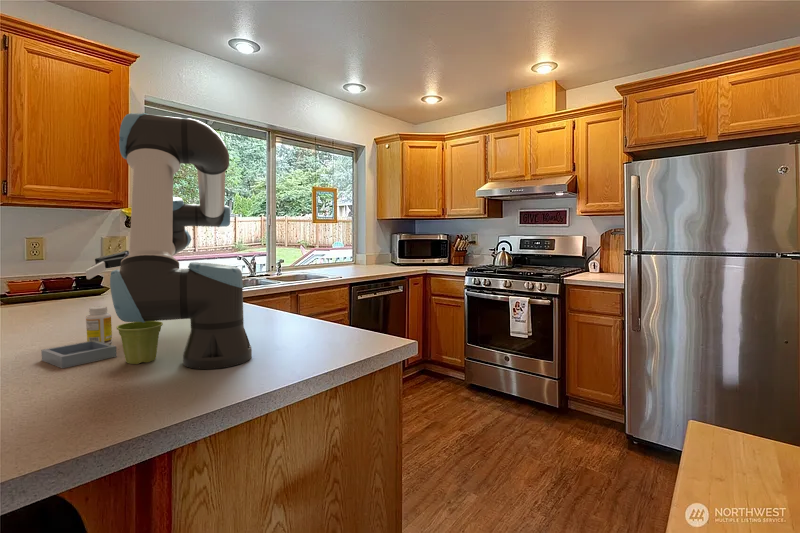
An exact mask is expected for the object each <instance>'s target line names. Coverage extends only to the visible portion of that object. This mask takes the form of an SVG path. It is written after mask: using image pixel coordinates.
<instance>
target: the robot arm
mask: <svg viewBox="0 0 800 533" xmlns="http://www.w3.org/2000/svg"><path fill="white" fill-rule="evenodd" d="M118 136H119V141H118V145H119V148H118V149H119V153H120V155H121V157H122V158H123V159H124V160H126V163H127V164H128V166H129V167H130V168H131V169H132V170H133V172H132V173H133V174H132V190H131V191H132V193H131V215H130V233H129V236H130V237H129V250H127V249H126V250H123V251H121V252H117V253H114V254H113V253H112V254H109V255H105V256H100V257H95V259H94V262H95V264H93V265H92V266H91V267H89V268H87V269H85V276H86V277H85V278H86V280H91V279H93V278H94V277H96V276H98V275H100V274H101V273H103V272H105V271H106V269H113V268H116V269H113V270H112V271H110V276H109V288H110V295H111V300H112V306H113V308H114V311H115V314H116V316H117V318H118V319H119V320H120V321H122V322H125V323H131V322H143V323H144V322H146V321H159V322H162V321H172V320H175V321H176V320H188V319H189V320H190V331H189V335H188V338H187V341H186V344H185V348H184V351H183V353H182V362H183V363H182V365H183V366H184V367H187V368H190V369H196V370H214V369H224V368H228V367H234V366H237V365H241V364H244V363H246V362H248V361H250V360H252V357H253V356H252V354H253V350H252V346H251V343H250V340H249V338H248V335H247V332H246V330H245V325H244V324H245V322H244V321H245V320H244V292H243V291H244V290H243V289H244V283H243V273H242V271H241V269H240V268H238V267H237V266H234V265H233V266H232V265H226V264H219V263H209V262H196V261H195V262H194V261H193V262H189V264H188V266H187V268H180V262H179V260H177V259H176V258H175V257H174V256H175V255H176V254H178V253H179V252H181V251H183V250H186V248H187V247H188V246H189V245H190V244H191V242H192V237H191V235H190V233H189V231H188V230H186V227H209V228H210V227H213V228H214V227H215V228H220V227H229V226H230V224H231V208H230V206H228V205H225V200H226V199H225V196H226V193H225V192H226V171H227V170H228V169H229V166H230V154H229V150H228V147H227V146H226V143H225V142H224V140H223V138H222V137H221V136H220V135H219V133H218V132H216V130H214V129H213V128H212V127H210V125H208V124H206V123H204V122H202V121H200V120H198V119H193V118H184V117H176V116H175V117H174V116H165V115H156V114H149V113H147V112H142V113H141V112H140V113H139V112H138V113H137V112H131V113H128V114H127V113H126V115H125V116H124V117H123V119H122V120H121V123H120V127H119V135H118ZM181 164H186V165H187V164H188V165H189V164H191V165H193V166H194V168H195V169H196V171H197V172H196V173H197V187H198V199H199V204H195V203H194V204H193V203H191V204H190V203H185V202H184V199H183V198H181V197H180V196H174V175H175V174H176V173H178V172H179V171H180V169H181ZM118 267H120V269H118Z"/></svg>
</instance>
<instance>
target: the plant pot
mask: <svg viewBox="0 0 800 533" xmlns="http://www.w3.org/2000/svg"><path fill="white" fill-rule="evenodd" d="M162 326H164V323H163V321H146V322H144V323H143V322H125V323H122V324H119V325H117V326H116V330H118V335H120V340H121V342H122V349H123V355H124V358H125V362H126V364H131V365H132V364H133V365H138V364H140V363H150V362H153V361H154V360H156V359H157V353H158V352H157V350H158V344H159V337H160V332H161V328H162Z"/></svg>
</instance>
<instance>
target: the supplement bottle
mask: <svg viewBox="0 0 800 533" xmlns="http://www.w3.org/2000/svg"><path fill="white" fill-rule="evenodd" d="M88 313H89V314H88V315H86V317H85V324H86V342H87V341H93V340H96V341H99V342H103V343H106V344H110V345H111V344H112V342H113V330H112V328H113V327H112V315H111V313H109V312H108V306H105V305H104V306H102V305H101V306H92V307H89V310H88Z"/></svg>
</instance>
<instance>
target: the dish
mask: <svg viewBox="0 0 800 533" xmlns="http://www.w3.org/2000/svg"><path fill="white" fill-rule="evenodd" d="M116 357H117V346H116V345H114V344H111V343H110V344H106V343H103V342H99V341H96V340H93V341H87V340H86V341H83V342H78V343H77V342H76V343H72V344H67V345H61V346H56V347H50V348H44V349H41V361H42V362H45V363H47V364H49V365H53V366H54V367H57V368H60V369H65V368H71V367H76V366H79V365H84V364H88V363H93V362H97V361H102V360H108V359H111V358H116Z"/></svg>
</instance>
